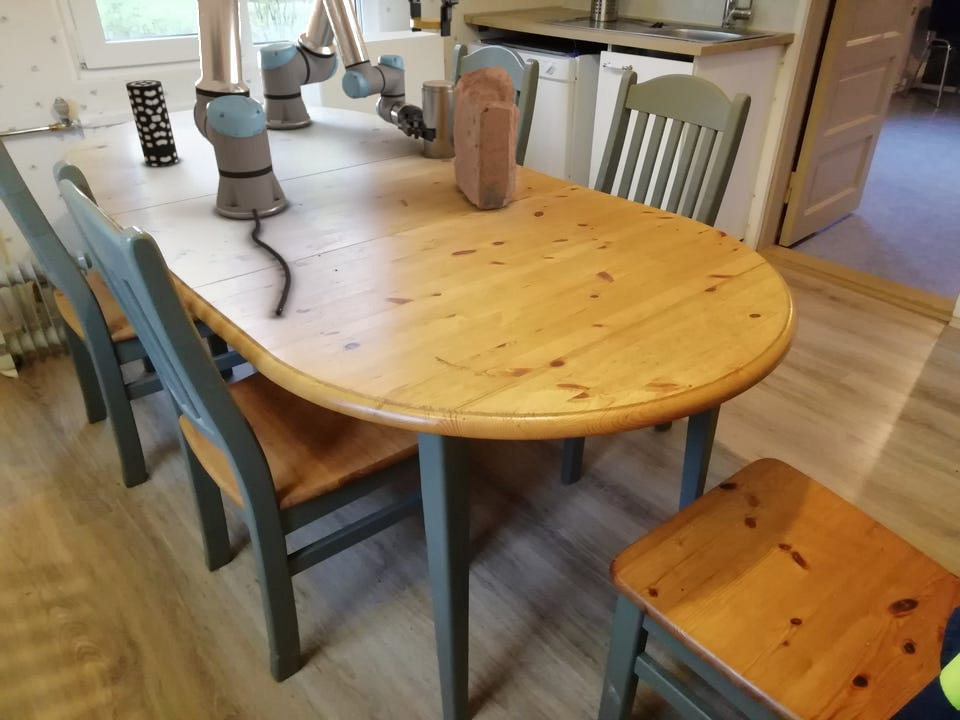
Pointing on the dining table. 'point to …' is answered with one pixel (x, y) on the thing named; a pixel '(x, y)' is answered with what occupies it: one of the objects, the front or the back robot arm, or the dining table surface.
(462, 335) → the dining table surface
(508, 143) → the stone
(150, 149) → the black white spotted cylinder
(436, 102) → the jar
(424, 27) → the lid
